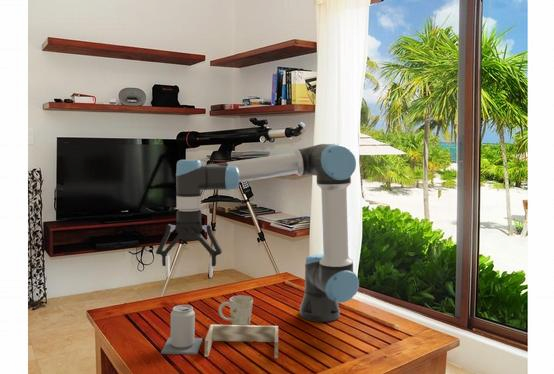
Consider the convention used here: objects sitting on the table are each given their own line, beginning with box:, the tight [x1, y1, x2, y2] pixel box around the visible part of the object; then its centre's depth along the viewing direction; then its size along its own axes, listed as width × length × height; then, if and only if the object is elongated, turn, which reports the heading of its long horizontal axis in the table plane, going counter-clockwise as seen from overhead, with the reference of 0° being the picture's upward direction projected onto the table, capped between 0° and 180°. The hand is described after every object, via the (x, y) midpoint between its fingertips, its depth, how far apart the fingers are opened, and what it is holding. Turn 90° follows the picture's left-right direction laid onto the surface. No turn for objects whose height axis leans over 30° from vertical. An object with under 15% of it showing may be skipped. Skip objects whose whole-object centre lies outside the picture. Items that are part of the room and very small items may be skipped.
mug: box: [218, 295, 254, 325], centre depth 169 cm, size 8×13×10 cm, turn 78°
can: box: [169, 304, 196, 349], centre depth 151 cm, size 8×8×12 cm
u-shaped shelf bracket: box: [204, 324, 279, 359], centre depth 151 cm, size 22×13×5 cm, turn 90°
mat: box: [160, 336, 204, 355], centre depth 151 cm, size 11×11×1 cm
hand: (189, 276), depth 151 cm, fingers open, 13 cm apart
